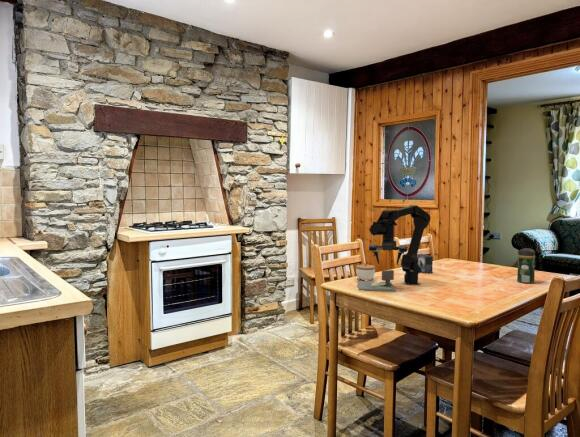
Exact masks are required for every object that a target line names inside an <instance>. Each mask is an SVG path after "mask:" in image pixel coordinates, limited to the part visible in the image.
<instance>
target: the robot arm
mask: <svg viewBox="0 0 580 437" xmlns="http://www.w3.org/2000/svg"><path fill="white" fill-rule="evenodd" d="M408 215H410V217H411V218H412V219H413V221H412V222H413V227H414V228H413V231H412V235H411V239H410V242H409V247H408V246H407V245H405V244H404V245H401V244H399V245H398V246H397V240H395V226H398V223H397V222H396V221H397V220H398V219H399V218H402V217H405V216H408ZM430 221H431V215H430V214H429V212H427V211H426V210H424V209H423V208H420V206H419V205H413V204H411V205H408V206H404V207H401V208H397V209H383V210H382V211H381V212H380V215H379V217H378V219H377V221H372V224H370V228H369V232H370V234H371V235H372V236H382V242H381V245H378V243H377V244H376V243H371V244H369V246H368V251H370V252H371V253H373V254H374V256H375V258H376V261H377V262H376V263H377V264H378V265H380V256H379V254H380V253H379V250H382V251H398V252H397V258H396V266H398V264H399V262H400V267H401V269H402V272H404V275H403V276H404V277H403V283H405V285H415V286H416V285H419V284H420V283H419V274H422V273H421V270H422V269H421V268H420V266H419V265H418V257H417V254H419V253H418V252H419V249H420V246H421V241H422V237H423V234H424V231H425V229H427V227H428V226H429V223H430Z"/></svg>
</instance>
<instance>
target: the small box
mask: <svg viewBox="0 0 580 437" xmlns="http://www.w3.org/2000/svg"><path fill="white" fill-rule="evenodd" d="M417 257H418V265H419V266H420V268H421V269H422V270H421V273H420V274H424V273H425V274H424V275H426V273H428V274H433V259H434V256H433V255H429V254H424V253H417Z"/></svg>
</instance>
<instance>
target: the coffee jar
mask: <svg viewBox="0 0 580 437" xmlns="http://www.w3.org/2000/svg"><path fill="white" fill-rule="evenodd" d="M535 261H536V251H535V250H534V249H533V248H530V247H529V248H527V247H524V248H522V249H520V250H518V251H517V274H516V275H517V277H516V279H517V280H516V281H517V282H518V283H523V284H533V283H534V282H535V274H536V273H535V270H536V268H535V267H536V262H535Z"/></svg>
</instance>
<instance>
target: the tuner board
mask: <svg viewBox="0 0 580 437" xmlns="http://www.w3.org/2000/svg"><path fill="white" fill-rule="evenodd" d="M392 282H393V281H390V283H391V284H392V285H391V286H386V285H378V286H371V285H372V284H382V283H385V281H372V280H370V281H362V280H359V281H356V283H358V284H357V287H359V288H358V291H359V290H364V291H363V292H366V291H367V292H394V293H395V292H397V288H396V287H395V286H394V284H393V283H392Z"/></svg>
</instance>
